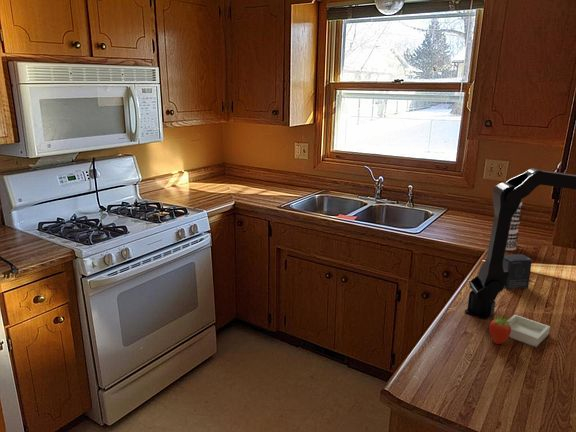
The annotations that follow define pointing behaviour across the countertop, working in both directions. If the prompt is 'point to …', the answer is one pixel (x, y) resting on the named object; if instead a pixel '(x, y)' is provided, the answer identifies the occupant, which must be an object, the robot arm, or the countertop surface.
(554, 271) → the countertop surface
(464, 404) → the countertop surface
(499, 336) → the fruit
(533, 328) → the bin
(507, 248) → the decorative candle
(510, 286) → the box
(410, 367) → the countertop surface
